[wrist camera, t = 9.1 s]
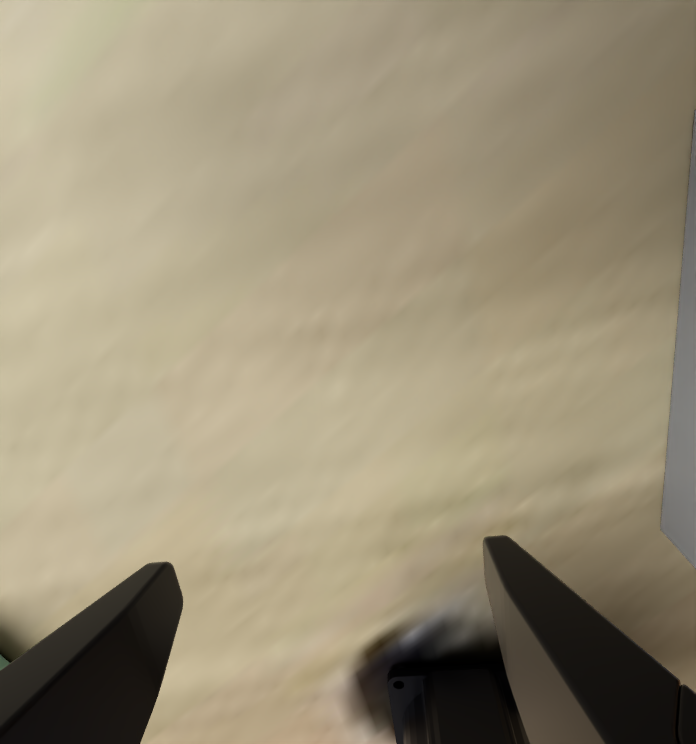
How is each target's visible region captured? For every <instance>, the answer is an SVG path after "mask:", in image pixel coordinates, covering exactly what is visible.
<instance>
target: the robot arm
mask: <svg viewBox="0 0 696 744" xmlns="http://www.w3.org/2000/svg"><path fill="white" fill-rule="evenodd" d="M483 556H484V572H485V582H486V588H487V592H488V596H489V601H490V605H491V609H492V614H493V618H494V623H495V627H496V631H497V636H498V640H499V644H500V649H501V653H502V657H503V662H504V663H495V664H476V665H457V666H438V667H419V668H400V669H393V670H391V671H390V672H389V673H388V677H387V679H388V691H389V697H390V704H391V710H392V717H393V723H394V730H395V736H396V743H397V744H696V693H695V692H694V691H692V690H691V689H690V688H689V687H688V686H686V685H681V686H680V680H679V679H678V678H677V677H675V676H674V675H673V674H672V673H671V672H669V671H668V670H667V669H666V668H665V667H663V666H662V665H661V664H660V663H659V662H657V661H656V660H655V659H654V658H653V657H652V656H650V655H649V654H648V653H647V652H646V651H644V650H643V649H642V648H641V647H640V646H638V645H637V644H636V643H635V642H634V641H632V640H631V639H630V638H629V637H628V636H626V635H625V634H624V633H623V632H622V631H621V630H619V629H618V628H617V627H616V626H615V625H613V624H612V623H611V622H610V621H609V620H607V619H606V618H605V617H604V616H603V615H601V614H600V613H599V612H598V611H597V610H595V609H594V608H593V607H592V606H591V605H590V604H588V603H587V602H586V601H585V600H584V599H582V598H581V597H580V596H579V595H578V594H576V593H575V592H574V591H573V590H572V589H570V588H569V587H568V586H567V585H566V584H564V583H563V582H562V581H561V580H560V579H559V578H557V577H556V576H555V575H554V574H553V573H551V572H550V571H549V570H548V569H547V568H545V567H544V566H543V565H542V564H541V563H539V562H538V561H537V560H536V559H535V558H533V557H532V556H531V555H530V554H529V553H528V552H526V551H525V550H524V549H523V548H522V547H520V546H519V545H518V544H517V543H516V542H514V541H513V540H512V539H511V538H510V537H508V536H505V535H501V536H488V537H485V538H484V540H483ZM182 609H183V596H182V592H181V589H180V586H179V583H178V579H177V576H176V573H175V570H174V567H173V565H172V564H171V563H169V562H155V563H149V564H147V565H145V566H144V567H142V568H141V569H139V570H138V571H137V572H135V573H134V574H133V575H131V576H130V577H128V578H127V579H126V580H124V581H123V582H122V583H120V584H119V585H117V586H116V587H115V588H113V589H112V590H110V591H109V592H108V593H106V594H105V595H104V596H102V597H101V598H99V599H98V600H97V601H95V602H94V603H93V604H91V605H90V606H88V607H87V608H86V609H84V610H83V611H82V612H80V613H79V614H77V615H76V616H75V617H73V618H72V619H71V620H69V621H68V622H66V623H65V624H64V625H62V626H61V627H59V628H58V629H57V630H55V631H54V632H53V633H51V634H50V635H48V636H47V637H46V638H44V639H43V640H42V641H40V642H39V643H37V644H36V645H35V646H33V647H32V648H31V649H29V650H28V651H26V652H25V653H24V654H22V655H21V656H19V657H18V658H17V659H15V660H14V661H13V662H11V663H10V664H8V665H7V666H6V667H4V668H3V669H2V670H0V744H140V742H141V740H142V737H143V734H144V732H145V729H146V726H147V724H148V721H149V719H150V716H151V713H152V711H153V708H154V705H155V702H156V700H157V697H158V694H159V691H160V687H161V684H162V681H163V677H164V674H165V670H166V666H167V663H168V659H169V656H170V652H171V649H172V645H173V641H174V638H175V634H176V631H177V627H178V624H179V620H180V616H181V613H182Z"/></svg>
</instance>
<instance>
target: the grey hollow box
mask: <svg viewBox="0 0 696 744" xmlns="http://www.w3.org/2000/svg"><path fill="white" fill-rule="evenodd" d="M660 530H661V531H662V532H663V533H664V534H665V535H666V536H667V537H668V539H669V540H670V541H671V542H672V543H673V544H674V545H675V546H676V547H677V549H678V550H679V551H680V552H681V553H682V554H683V555H684V556H685V558H686V559H687V560H688V561H689V562H690V563H691V564H692V565H693V566H694V568H695V569H696V110H695V114H694V126H693V139H692V151H691V163H690V175H689V187H688V199H687V212H686V224H685V236H684V248H683V260H682V272H681V284H680V297H679V309H678V321H677V333H676V345H675V357H674V370H673V382H672V394H671V406H670V418H669V430H668V443H667V455H666V467H665V479H664V491H663V503H662V515H661V528H660Z"/></svg>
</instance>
